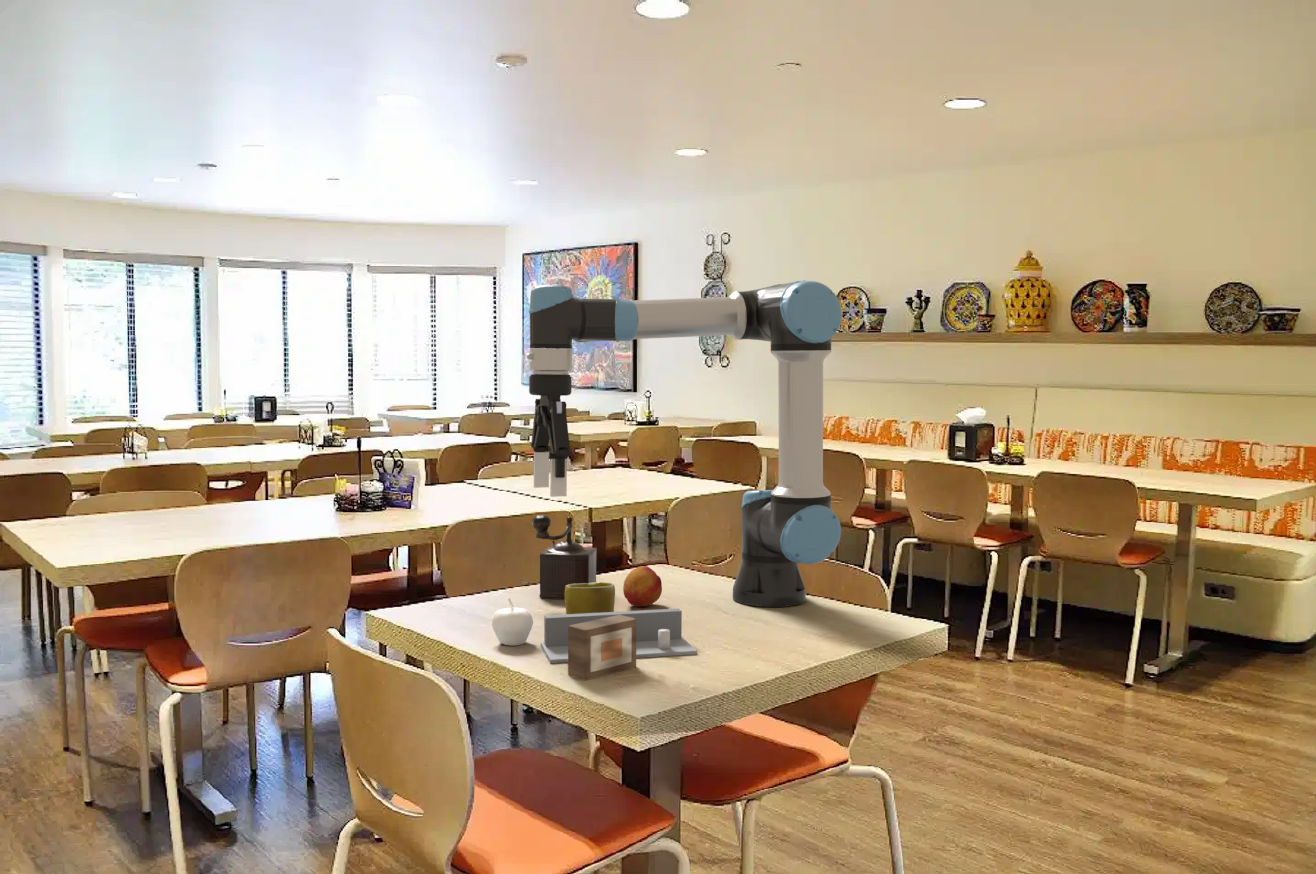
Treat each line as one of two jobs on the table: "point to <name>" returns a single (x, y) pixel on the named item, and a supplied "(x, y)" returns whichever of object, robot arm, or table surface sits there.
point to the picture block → (601, 647)
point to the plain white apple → (512, 625)
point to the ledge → (639, 650)
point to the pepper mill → (563, 561)
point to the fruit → (642, 587)
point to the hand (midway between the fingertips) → (549, 491)
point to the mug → (589, 598)
